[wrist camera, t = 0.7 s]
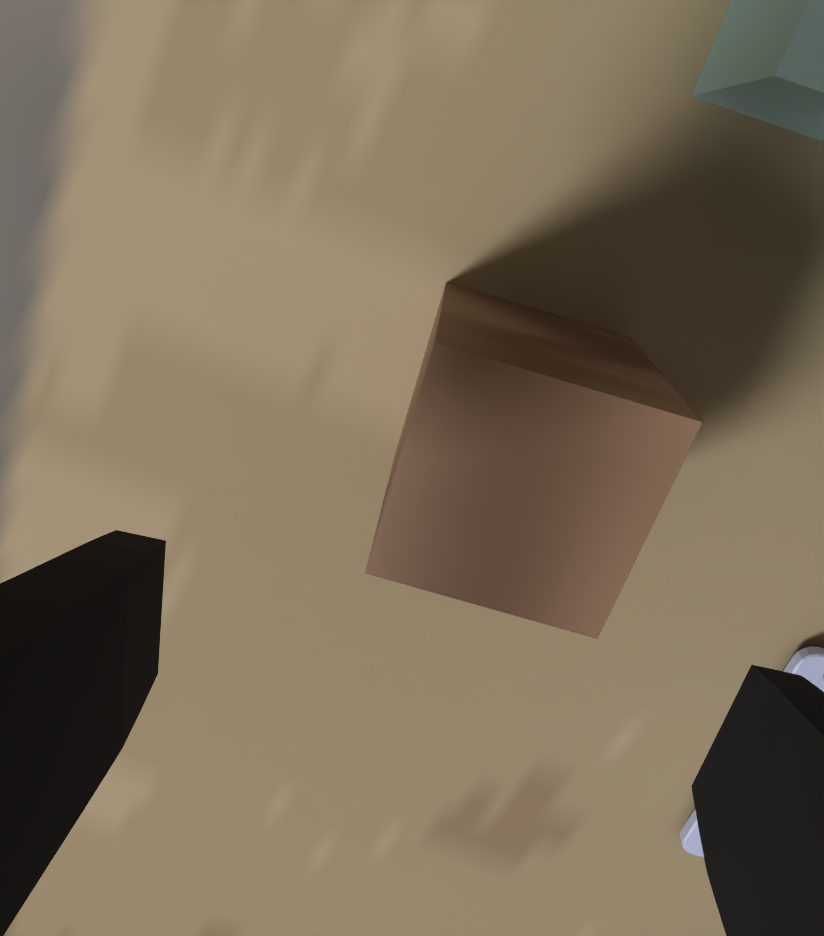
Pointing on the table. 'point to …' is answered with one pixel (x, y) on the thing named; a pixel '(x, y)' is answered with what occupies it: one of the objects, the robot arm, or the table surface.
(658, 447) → the walnut block
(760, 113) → the base block
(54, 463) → the table surface
